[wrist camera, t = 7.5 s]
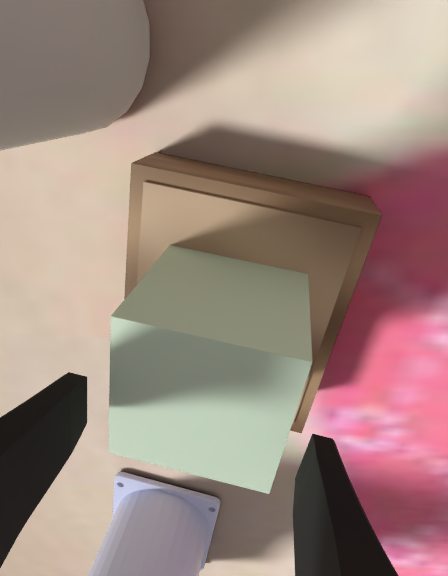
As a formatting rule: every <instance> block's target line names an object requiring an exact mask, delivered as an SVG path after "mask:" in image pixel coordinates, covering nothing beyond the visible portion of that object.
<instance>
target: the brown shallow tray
mask: <svg viewBox="0 0 448 576" xmlns="http://www.w3.org/2000/svg"><path fill="white" fill-rule="evenodd" d="M381 217H382V215H381V213H380V212H379V210H378V208H377V207H376V205H375V204H374V202H373V201H372V199H371V198H370V196H366V195H361V194H356V193H351V192H346V191H341V190H336V189H332V188H327V187H322V186H317V185H312V184H307V183H302V182H297V181H293V180H288V179H283V178H278V177H273V176H268V175H263V174H259V173H254V172H249V171H244V170H239V169H234V168H229V167H224V166H220V165H215V164H210V163H205V162H200V161H195V160H190V159H185V158H181V157H176V156H171V155H166V154H161V153H156V152H155V153H153V154H151V155H148V156H146V157H144V158H142V159H140V160H137V161H135V162H133V163H131V181H130V201H129V221H128V241H127V260H126V280H125V299H126V297H127V296H128V295H129V294H130V292H131V291H132V290H133V289H134V288H135V286H136V285H137V284H138V283H139V282H140V280H141V279H142V278H143V277H144V276H145V274H146V273H147V272H148V271H149V269H150V268H151V267H152V266H153V265H154V263H155V262H156V261H157V260H158V259H159V257H160V256H161V255H162V254H163V253H164V251H165V250H166V249H167V248H168V246H169V245H172V246H177V247H181V248H186V249H191V250H196V251H200V252H205V253H210V254H215V255H219V256H224V257H229V258H234V259H239V260H243V261H248V262H253V263H258V264H262V265H267V266H272V267H277V268H281V269H286V270H291V271H296V272H301V273H305V274H308V281H309V302H310V323H311V344H312V365H311V368H310V371H309V374H308V377H307V380H306V383H305V386H304V389H303V392H302V395H301V398H300V402H299V405H298V408H297V411H296V414H295V417H294V420H293V423H292V426H291V429H290V430H291V431H295V432H299V433H302V430H303V428H304V425H305V422H306V420H307V417H308V414H309V411H310V409H311V406H312V403H313V401H314V398H315V395H316V393H317V390H318V387H319V384H320V382H321V379H322V376H323V374H324V371H325V368H326V365H327V363H328V360H329V357H330V355H331V352H332V349H333V347H334V344H335V341H336V338H337V336H338V333H339V330H340V328H341V325H342V322H343V319H344V317H345V314H346V311H347V309H348V306H349V303H350V301H351V298H352V295H353V292H354V290H355V287H356V284H357V282H358V279H359V276H360V273H361V271H362V268H363V265H364V263H365V260H366V257H367V255H368V252H369V249H370V246H371V244H372V241H373V238H374V236H375V233H376V230H377V227H378V225H379V222H380V219H381Z"/></svg>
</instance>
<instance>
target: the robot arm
mask: <svg viewBox="0 0 448 576" xmlns="http://www.w3.org/2000/svg"><path fill="white" fill-rule="evenodd" d="M86 424H87V377H85V376H81V375H77V374H74V373H70V372H69V373H67V374H65V375H64V376H62V377H61V378H59V379H58V380H56V381H55V382H53V383H52V384H50V385H49V386H48V387H46V388H45V389H43V390H42V391H40V392H39V393H37V394H36V395H34V396H33V397H31V398H30V399H28V400H27V401H25V402H24V403H22V404H21V405H19V406H18V407H16V408H14V409H13V410H11V411H10V412H8V413H7V414H5V415H4V416H2V417H0V568H1V566H2V564H3V562H4V560H5V559H6V557H7V555H8V553H9V551H10V549H11V548H12V546H13V544H14V542H15V540H16V538H17V537H18V535H19V533H20V532H21V530H22V528H23V527H24V525H25V524H26V522H27V520H28V519H29V517H30V516H31V514H32V513H33V511H34V510H35V508H36V507H37V505H38V504H39V502H40V501H41V499H42V498H43V496H44V495H45V493H46V492H47V490H48V489H49V487H50V486H51V484H52V483H53V481H54V480H55V478H56V477H57V475H58V474H59V472H60V471H61V469H62V467H63V466H64V464H65V463H66V461H67V460H68V458H69V457H70V455H71V454H72V452H73V450H74V448H75V446H76V444H77V442H78V440H79V438H80V436H81V434H82V432H83V430H84V428H85V426H86ZM219 508H220V500H219V499H218V498H217V497H214V496H211V495H207V494H203V493H199V492H196V491H192V490H188V489H185V488H181V487H177V486H173V485H170V484H166V483H162V482H159V481H155V480H151V479H147V478H144V477H140V476H136V475H133V474H129V473H125V472H118V473H117V474H116V476H115V480H114V501H113V518H112V521H111V523H110V525H109V528H108V530H107V532H106V535H105V537H104V539H103V542H102V544H101V546H100V548H99V551H98V553H97V555H96V558H95V560H94V562H93V565H92V567H91V569H90V571H89V574H88V576H199V572H200V571H202V570H203V569H204V565H205V561H206V558H207V554H208V550H209V546H210V542H211V538H212V535H213V531H214V527H215V523H216V519H217V515H218V512H219ZM293 526H294V554H295V576H398V574H397V572H396V571H395V569H394V567H393V566H392V564H391V562H390V560H389V559H388V557H387V555H386V553H385V551H384V550H383V548H382V546H381V544H380V542H379V540H378V538H377V536H376V534H375V532H374V531H373V529H372V527H371V525H370V523H369V521H368V519H367V517H366V514H365V512H364V510H363V508H362V506H361V504H360V502H359V499H358V497H357V495H356V493H355V491H354V488H353V486H352V484H351V482H350V479H349V477H348V474H347V472H346V470H345V467H344V465H343V462H342V460H341V457H340V455H339V452H338V449H337V447H336V444H335V442H334V440H333V439H331V438H327V437H323V436H319V435H316V434H312V436H311V439H310V442H309V444H308V447H307V449H306V452H305V454H304V457H303V460H302V462H301V465H300V467H299V470H298V473H297V475H296V479H295V492H294V506H293Z"/></svg>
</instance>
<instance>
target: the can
mask: <svg viewBox="0 0 448 576" xmlns="http://www.w3.org/2000/svg"><path fill="white" fill-rule="evenodd" d="M149 60H150V26H149V19H148V16H147V12H146V8H145V5H144V1H143V0H0V150H5V149H10V148H14V147H19V146H24V145H29V144H34V143H39V142H44V141H48V140H53V139H58V138H63V137H68V136H73V135H78V134H83V133H87V132H90V131H94V130H97V129H101V128H105V127H108V126H109V125H110V124H112V123H113V122H114V121H116V120H117V119H118V118H119V117H121V116H122V115H123V114H125V113H126V112H127V111H128V110H129V108H130V106H131V105H132V103H133V102H134V100H135V99H136V97H137V95H138V94H139V92H140V91H141V89H142V86H143V83H144V79H145V75H146V71H147V67H148V63H149Z"/></svg>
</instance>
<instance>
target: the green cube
mask: <svg viewBox="0 0 448 576" xmlns="http://www.w3.org/2000/svg"><path fill="white" fill-rule="evenodd" d="M311 365H312V344H311V323H310V302H309V281H308V274H305V273H301V272H296V271H291V270H286V269H281V268H277V267H272V266H267V265H262V264H258V263H253V262H248V261H243V260H239V259H234V258H229V257H224V256H219V255H215V254H210V253H205V252H200V251H196V250H191V249H186V248H181V247H177V246H172V245H169V246H168V248H167V249H166V250H165V251H164V253H163V254H162V255H161V256H160V257H159V259H158V260H157V261H156V262H155V263H154V265H153V266H152V267H151V268H150V269H149V271H148V272H147V273H146V274H145V276H144V277H143V278H142V279H141V280H140V282H139V283H138V284H137V285H136V286H135V288H134V289H133V290H132V291H131V292H130V294H129V295H128V296H127V297H126V299H125V300H124V301H123V302H122V303H121V305H120V306H119V307H118V308H117V309H116V311H115V312H114V313H113V314H112V315H111V333H110V394H109V453H111V454H115V455H119V456H123V457H127V458H131V459H134V460H138V461H142V462H146V463H150V464H154V465H158V466H162V467H166V468H170V469H173V470H177V471H181V472H185V473H189V474H193V475H197V476H201V477H205V478H208V479H212V480H216V481H220V482H224V483H228V484H232V485H236V486H240V487H244V488H247V489H251V490H255V491H259V492H263V493H267V494H269V493H270V490H271V487H272V484H273V481H274V478H275V475H276V472H277V469H278V466H279V463H280V460H281V457H282V454H283V450H284V447H285V444H286V441H287V438H288V435H289V432H290V429H291V426H292V423H293V420H294V417H295V414H296V411H297V408H298V405H299V402H300V398H301V395H302V392H303V389H304V386H305V383H306V380H307V377H308V374H309V371H310V368H311Z"/></svg>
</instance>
